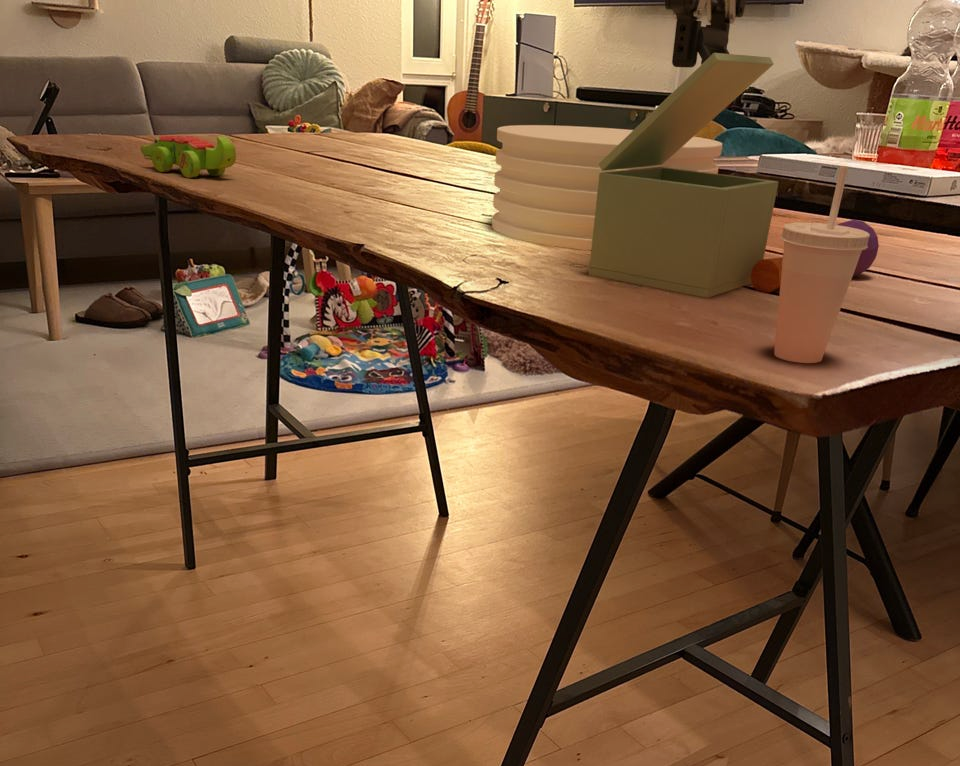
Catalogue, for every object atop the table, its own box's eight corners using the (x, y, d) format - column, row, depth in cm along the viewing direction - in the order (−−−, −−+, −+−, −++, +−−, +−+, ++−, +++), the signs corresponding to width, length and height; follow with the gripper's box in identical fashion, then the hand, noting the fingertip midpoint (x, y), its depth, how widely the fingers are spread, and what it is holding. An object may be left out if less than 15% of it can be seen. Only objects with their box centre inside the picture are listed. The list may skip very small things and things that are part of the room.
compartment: (759, 282, 104) (778, 181, 99) (707, 299, 95) (725, 189, 90) (646, 261, 111) (659, 166, 106) (588, 275, 102) (599, 172, 97)
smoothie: (776, 369, 74) (819, 168, 67) (744, 346, 80) (781, 159, 72) (853, 370, 75) (903, 172, 68) (816, 347, 81) (860, 162, 73)
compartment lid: (774, 64, 95) (747, 16, 95) (718, 60, 86) (688, 7, 86) (661, 165, 105) (637, 122, 105) (601, 171, 96) (575, 124, 96)
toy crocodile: (135, 167, 159) (130, 126, 156) (170, 166, 163) (166, 125, 160) (209, 182, 148) (205, 138, 145) (244, 180, 153) (241, 137, 150)
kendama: (739, 246, 99) (839, 217, 110) (739, 306, 102) (837, 272, 113) (791, 244, 95) (890, 214, 106) (790, 307, 98) (886, 272, 109)
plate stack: (703, 226, 137) (718, 135, 131) (709, 261, 113) (727, 152, 107) (508, 210, 140) (514, 121, 134) (474, 240, 116) (479, 134, 110)
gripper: (731, -176, 78) (700, 67, 86) (797, -144, 88) (764, 71, 96) (649, -167, 82) (627, 65, 90) (721, -137, 92) (696, 69, 100)
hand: (698, 67), depth 93 cm, fingers closed on compartment lid, 5 cm apart
